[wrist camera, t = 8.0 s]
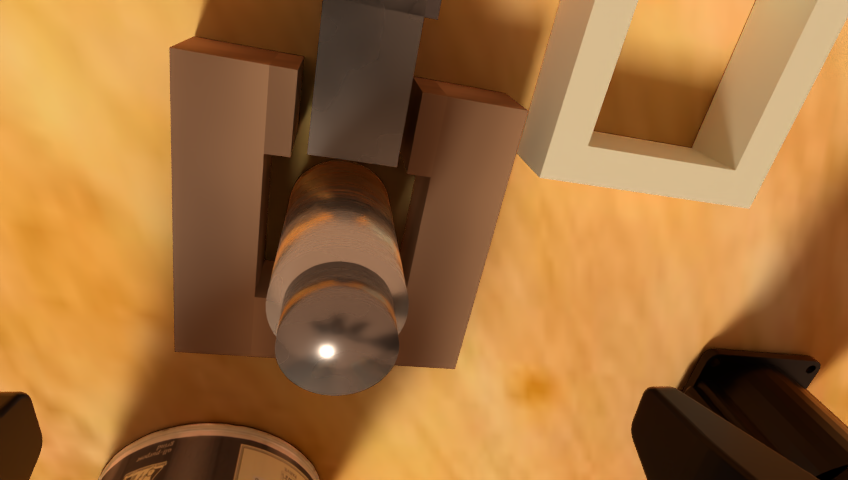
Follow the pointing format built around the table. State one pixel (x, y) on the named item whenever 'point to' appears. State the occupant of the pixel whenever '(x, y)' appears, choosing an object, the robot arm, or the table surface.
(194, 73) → the socket block
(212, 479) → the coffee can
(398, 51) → the dark grey block
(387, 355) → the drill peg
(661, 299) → the table surface
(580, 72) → the beige square frame
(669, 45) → the table surface
